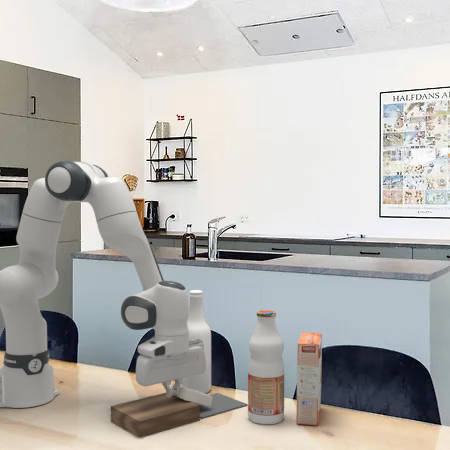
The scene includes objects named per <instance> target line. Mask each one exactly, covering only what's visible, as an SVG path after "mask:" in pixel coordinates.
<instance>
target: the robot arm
mask: <svg viewBox="0 0 450 450" xmlns="http://www.w3.org/2000/svg"><path fill="white" fill-rule="evenodd" d="M71 203H88V204H89V205H90V206H91V208H92V210H93V212H94V218H95V221H96V224H97V229H98V231H99V235H100V236H101V239H102V241H103V243H104V244H105V245H106V246H107V247H108V248H109V249H111V250H113V251H115V252H118V253H120V254H122V255H124V256H126V257H127V258H128V259H129V260H130V261H131V262H132V263H133V266H134V269H135V270H136V273H137V276H138V279H139V281H140V284H141V288H142V291H141V292H137V293H135V294H131V295H130V296H128V297H126V298H125V299H124V300H123V302H122V304H121V307H120V316H121V319H122V322H123V323H124V324H125V327H128V328H129V329H131V330H133V331H144V330H147V329H153V330H154V336H152V337H151V338H150V339H148V340H145V342H142V343H141V344H139V345H138V346H137V352H138V353H139V354H140V355H138V357H137V359H136V365H135V381H136V383H137V384H138V385H140V386H142V387H151V386H155V385H158V384H161V385H162V387H163V389H165V393H166V396H167V397H169V398H170V397H173V396H178V395H179V388H180V386H181V387H182V382H183V378H185V377H189V376H194V375H198V374H202V373H204V372H205V370H206V359H205V353H204V343H203V342H202V341H201V340H200V339H195V340H189V329H188V326H187V321H188V318H189V295H188V290H187V289H186V286H185V285H183V284H182V283H180V282H177V281H172V280H165V279H164V277H163V274H162V271H161V269H160V266H159V264H158V261H157V258H156V255H155V253H154V251H153V248H152V245H151V243H150V242H149V239H148V238H147V236H146V234H145V231H144V229H143V227H142V224H141V221H140V218H139V215H138V212H137V209H136V204H135V201H134V199H133V196H132V194H131V191H130V189H129V187H128V186H127V184H126V181H125V180H124V179H123V178H120V177H117V176H109V175H108V173H107V172H106V171H105V170H104V169H103V168H102V167H100V166H98V165H95V164H91V163H90V162H89V163H88V162H85V161H72V160H62V161H58V162H55V163H54V164H52V165H51V166H49V168H48V169H47V171H46V173H45V176H44V177H42V178H38V179H36V180H35V181H34V182H33V184H32V186H31V188H30V189H29V193H28V195H27V197H26V200H25V203H24V205H23V209H22V214H21V217H20V221H19V224H18V228H17V233H16V237H15V238H16V239H15V240H16V243H17V245H18V247H19V261H18V263H17V264H14V265H10V266H6V267H4V268H2V269H1V270H0V310H1V314H2V316H3V321H4V326H5V349H6V350H5V351H4V354H3V355H4V356H3V362H2V364H3V366H1V368H0V408H15V409H17V408H19V409H21V408H22V409H23V408H31V407H37V406H41V405H45V404H47V403H49V402H51V401H52V400H53V399H54V398H55V397H56V396H58V395H59V394H60V390H59V389H58V388H56V383H55V372H54V371H55V370H54V367H53V366H52V365H51V364H49V362H50V351H49V348H48V324H47V321H46V319H45V318H44V317H43V316H42V313H41V311H40V310H41V309H40V306H39V299H43V298H45V297H46V296H48V295H50V294H51V293H52V292H53V291H54V290H55V289H56V288H57V286H58V284H59V279H60V277H59V273H58V271H57V269H56V265H57V263H56V257H57V256H56V253H57V247H58V242H59V238H60V233H61V229H62V225H63V221H64V217H65V213H66V211H67V208H68V207H69V205H70V204H71ZM173 381H174V383H173V384H174V386H173V388H172V387H171V386H172V382H173ZM170 385H171V386H170Z"/></svg>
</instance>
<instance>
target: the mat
mask: <svg viewBox="0 0 450 450" xmlns="http://www.w3.org/2000/svg"><path fill="white" fill-rule="evenodd" d="M208 395H209V396H212V397H213V399H212V402H211V405H210V406H207V405H203V404H199V403H196V404H199V405H200V420H202V419H206V418H210V417H213V416H216V415H221V414H224V413H228V412H230V411H233V410H236V409H241V408H244V407H248V403H246V402H242V401H240V400H238V399H236V398H233V397H230V396H227V395H225V394H223V393H220V392H216V393H212V394H208ZM194 403H195V402H194Z"/></svg>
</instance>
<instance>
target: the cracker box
mask: <svg viewBox="0 0 450 450" xmlns="http://www.w3.org/2000/svg"><path fill="white" fill-rule="evenodd" d="M322 345H323V335H322V333H321V332H309V331H308V332H305V331H304V332H303V331H302V332H301V333H300V336H299V339H298V342H297V350H296V351H297V357H296V358H297V363H296V366H297V367H296V368H297V369H296V370H297V371H296V373H297V374H296V415H295V416H296V420H295V422H296V424H297V425H305V426H307V425H308V426H316V427H317V426H319V422H320V416H321V415H320V414H321V406H322V405H321V404H322V401H321V399H322V397H321V396H322V365H323V364H322V360H323V357H322V356H323V354H322V353H323V352H322V351H323V346H322Z"/></svg>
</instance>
